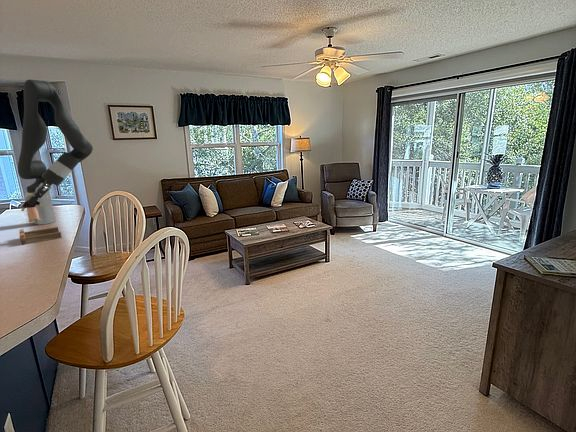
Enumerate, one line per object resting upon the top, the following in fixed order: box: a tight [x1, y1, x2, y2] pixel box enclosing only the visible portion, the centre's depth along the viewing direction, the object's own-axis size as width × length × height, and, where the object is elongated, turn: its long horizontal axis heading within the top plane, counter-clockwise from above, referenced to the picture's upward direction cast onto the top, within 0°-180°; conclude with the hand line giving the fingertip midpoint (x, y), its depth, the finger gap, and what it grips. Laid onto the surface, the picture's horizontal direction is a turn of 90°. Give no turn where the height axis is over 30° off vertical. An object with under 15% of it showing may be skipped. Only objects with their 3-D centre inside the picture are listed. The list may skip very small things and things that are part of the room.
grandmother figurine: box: [21, 192, 42, 223], centre depth 137 cm, size 8×4×13 cm, turn 160°
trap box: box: [18, 226, 63, 246], centre depth 141 cm, size 13×14×4 cm
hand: (29, 203), depth 136 cm, fingers closed on grandmother figurine, 3 cm apart
